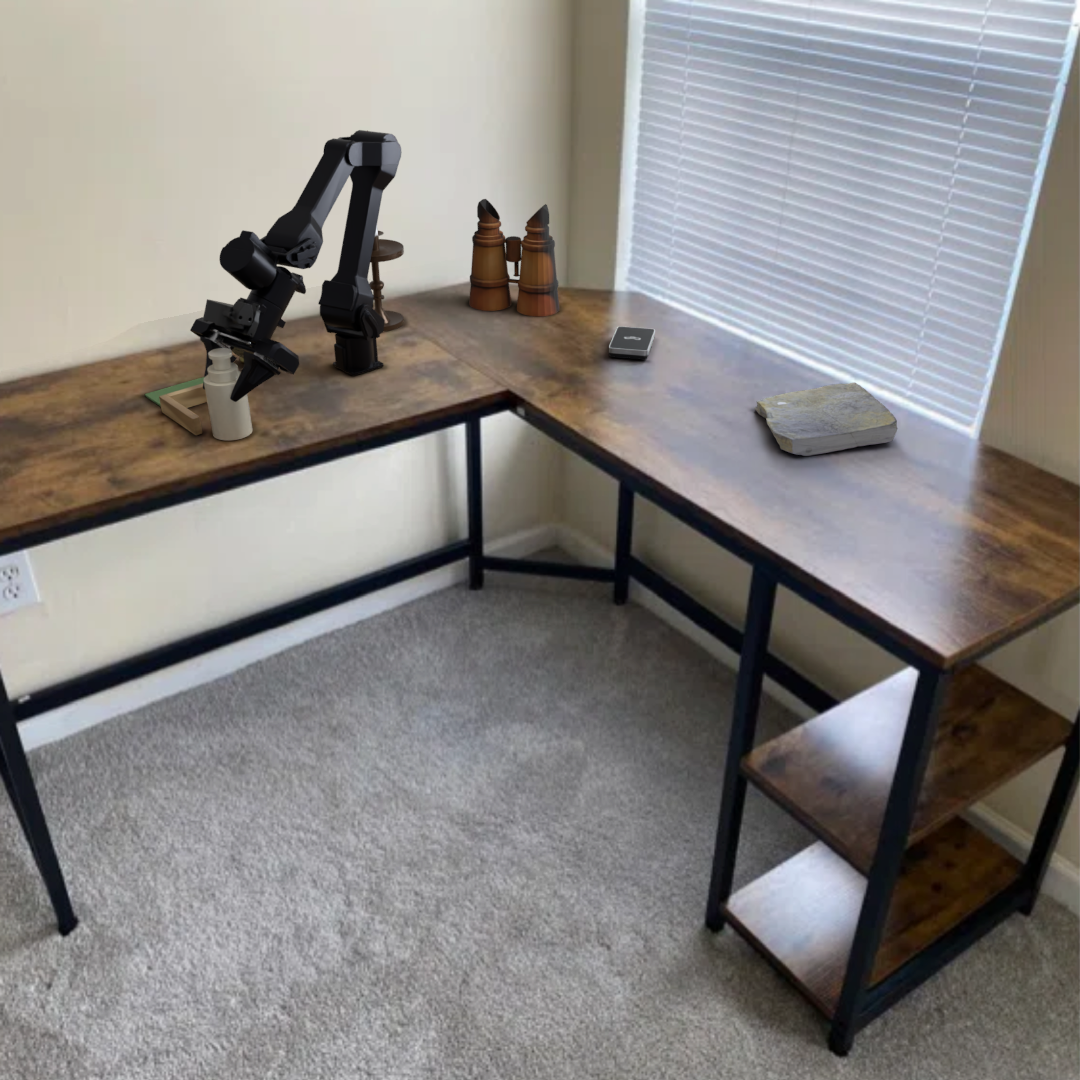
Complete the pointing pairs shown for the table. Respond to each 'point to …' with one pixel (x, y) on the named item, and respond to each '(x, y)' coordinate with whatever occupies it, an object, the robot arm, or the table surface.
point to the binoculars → (534, 271)
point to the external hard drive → (631, 342)
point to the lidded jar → (226, 398)
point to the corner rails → (184, 407)
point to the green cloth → (172, 390)
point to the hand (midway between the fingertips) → (218, 395)
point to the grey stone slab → (827, 419)
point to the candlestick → (381, 253)
